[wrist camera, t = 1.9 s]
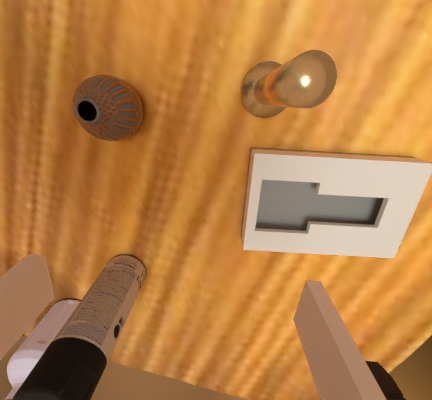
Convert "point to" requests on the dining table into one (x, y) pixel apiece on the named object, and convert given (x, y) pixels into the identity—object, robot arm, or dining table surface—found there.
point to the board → (330, 201)
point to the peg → (289, 84)
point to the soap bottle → (37, 343)
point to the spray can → (86, 336)
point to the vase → (107, 108)
